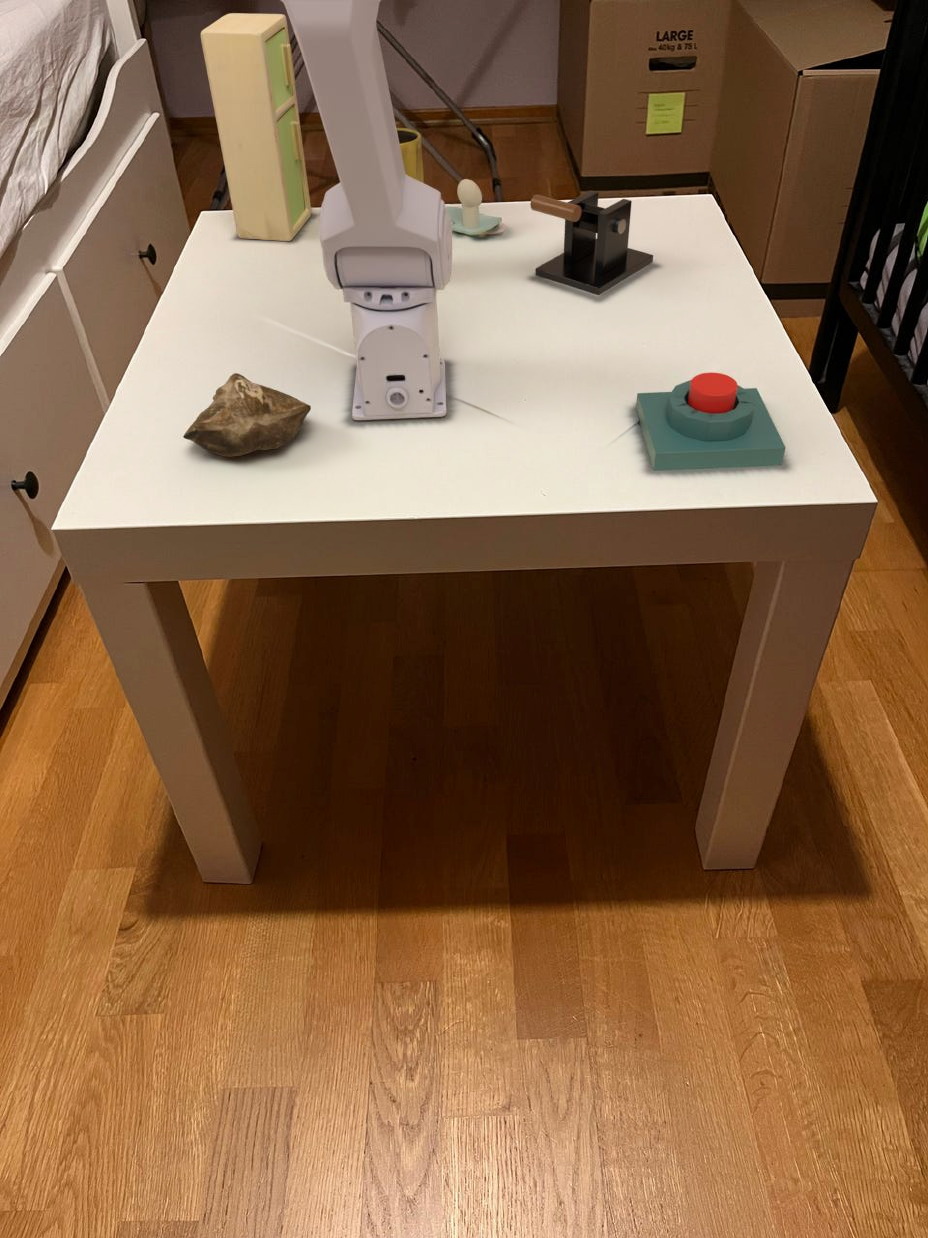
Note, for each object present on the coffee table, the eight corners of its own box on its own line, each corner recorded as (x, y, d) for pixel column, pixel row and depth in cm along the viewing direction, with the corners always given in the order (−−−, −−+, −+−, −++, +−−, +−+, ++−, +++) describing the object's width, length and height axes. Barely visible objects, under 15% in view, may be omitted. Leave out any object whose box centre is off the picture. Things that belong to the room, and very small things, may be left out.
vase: (432, 292, 100) (424, 145, 90) (372, 293, 100) (358, 147, 91) (434, 267, 105) (427, 124, 95) (378, 268, 105) (364, 126, 95)
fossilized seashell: (177, 454, 75) (308, 462, 77) (178, 366, 74) (311, 376, 76) (189, 451, 83) (309, 459, 84) (190, 371, 81) (311, 380, 83)
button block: (781, 466, 76) (790, 427, 74) (653, 471, 76) (658, 432, 74) (753, 405, 82) (760, 368, 80) (635, 410, 82) (639, 373, 80)
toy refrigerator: (297, 242, 111) (266, 31, 96) (236, 239, 112) (197, 30, 98) (319, 215, 116) (292, 13, 102) (261, 212, 118) (226, 12, 103)
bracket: (598, 299, 98) (603, 226, 93) (535, 279, 102) (536, 208, 97) (652, 265, 103) (660, 195, 98) (590, 247, 107) (594, 178, 102)
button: (739, 414, 76) (742, 394, 75) (692, 416, 76) (695, 396, 75) (728, 390, 78) (731, 371, 77) (683, 392, 78) (686, 372, 77)
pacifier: (464, 218, 115) (434, 234, 111) (463, 162, 111) (432, 177, 107) (517, 231, 112) (488, 247, 108) (518, 173, 107) (488, 189, 104)
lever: (569, 226, 91) (577, 199, 90) (527, 214, 94) (534, 187, 93) (621, 239, 99) (628, 214, 98) (580, 228, 102) (587, 204, 101)
